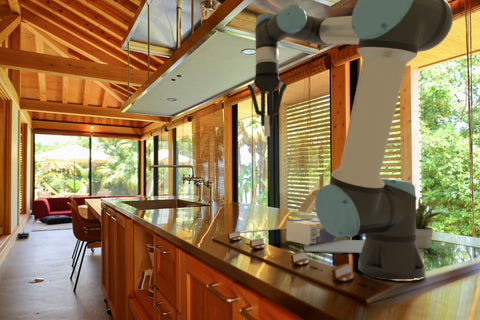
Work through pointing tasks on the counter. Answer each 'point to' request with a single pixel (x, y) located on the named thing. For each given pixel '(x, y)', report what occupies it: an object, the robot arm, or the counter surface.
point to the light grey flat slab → (336, 246)
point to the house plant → (424, 225)
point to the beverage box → (309, 232)
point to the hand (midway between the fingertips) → (267, 136)
